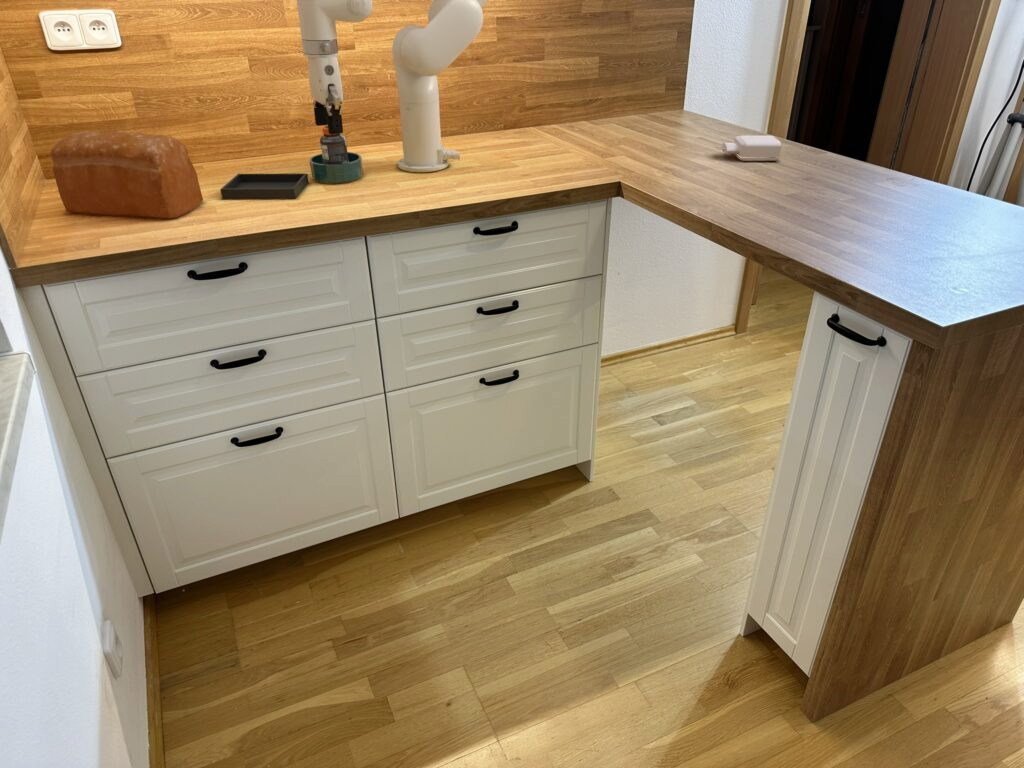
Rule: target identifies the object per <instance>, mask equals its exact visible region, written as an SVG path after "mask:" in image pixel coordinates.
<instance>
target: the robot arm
mask: <svg viewBox="0 0 1024 768" xmlns="http://www.w3.org/2000/svg"><path fill="white" fill-rule="evenodd" d="M488 2H489V0H432V2H431V3H430V5H429V7H428V11H427V20H428V23H427V24H426V25H425V27H423V26H420V25H416V24H415V25H414V24H413V25H412V24H411V25H407V26H404V27H402V28H401V29H399V30H398V32H397V33H396V34H395V36H394V38H393V41H392V47H391V51H392V52H391V53H392V61H393V65H394V70H395V75H396V76H395V77H396V82H397V83H396V84H397V92H398V106H399V117H400V128H401V131H400V132H401V143H402V153H403V154H402V155H403V157H402V158H400V159H399V160H398V161H397V167H398V169H400V170H401V171H405V172H411V173H430V172H431V173H432V172H437V171H441V170H444V169H446V168H447V167H448V166H449V160H454V161H455V160H458V161H459V160H460V158H461V153H460V150H459V151H458V150H455V149H450V150H448V149H446V148H445V146H444V145H445V144H442V132H441V114H440V94H439V93H440V92H439V82H438V77H437V75H440V74H442V73H443V72H444V71H446V69H448V68H449V66H451V65H452V63H454V61H455V60H457V59H458V58H459V56H460V55H462V53H463V52H465V50H466V49H467V48H469V46H470V45H471V44H472V43H473V42H474V41H475V39H476V38H477V37H478V35H479V34H480V32H481V30H482V27H483V25H484V13H483V8H484V7H485V5H486V4H487V3H488ZM296 5H297V11H298V21H299V30H300V37H301V47H302V54H303V57H306V58H307V71H308V83H309V90H310V95H311V98H312V100H313V101H312V106H313V114H314V121H315V122H314V123H315V125H316V126H317V127H319V126H328V131H329V134H339V133H341V134H343V133H344V126H343V118H342V117H343V116H342V114H343V113H342V104H344V102H345V99H344V92H343V91H344V90H343V83H342V77H341V70H340V65H339V60H338V56H339V55H340V54H339V46H338V36H337V27H336V22H345V23H353V24H355V23H357V24H358V23H362V22H364V21H365V20H367V19H368V18H369V17H370V15H371V13H372V11H373V0H296Z"/></svg>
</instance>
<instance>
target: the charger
mask: <svg viewBox="0 0 1024 768" xmlns="http://www.w3.org/2000/svg"><path fill="white" fill-rule="evenodd" d="M714 148H716V150H722V153H725V154H724V155H735V157H736V158H737V159H738V160H740V161H742V162H778V161H779V160H780V155H781V150H782V142H781V141H780V140H779V139H778V138H777V137H775V136H774V135H736V136H735V137H734V139H733V142H723V143H722V144H721V145H715V146H714ZM737 154H738V155H739V156H741V157H779V158H740V157H739V156H738V155H737Z"/></svg>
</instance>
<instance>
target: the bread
mask: <svg viewBox="0 0 1024 768" xmlns="http://www.w3.org/2000/svg"><path fill="white" fill-rule="evenodd" d="M49 155H50V157H51V160H52V163H53V166H52V172H53V176H54V180H55V182H56V186H57V190H58V194H59V197H60V199H61V202H62V204H63V207H64V209H65V211H66V212H67V213H72V214H85V215H100V216H101V215H102V216H116V217H117V216H119V217H137V218H149V219H175V218H177V217H180V216H182V215H184V214H187V213H189V212H191V211H192V210H194V209H196V208H198V206H199V205H200V204H201V203H202V202H203V201H204V198H203V195H202V190H201V187H200V182H199V178H198V174H197V171H196V169H195V167H194V165H193V162H192V160H191V158H190V155H189V152H188V148H187V146H186V145H184V144H183V143H182V142H181V140H179V139H178V138H175V137H174V136H171V135H167V134H154V133H153V134H149V133H144V132H143V133H142V132H135V131H128V130H107V131H106V130H105V131H94V130H86V131H75V132H72V133H70V134H67V135H66V136H65V137H63V138H61V139H60V140H59V141H57V142H55V143H54V144H53V146H52V149H51V150H50V153H49Z"/></svg>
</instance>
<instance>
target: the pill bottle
mask: <svg viewBox="0 0 1024 768" xmlns="http://www.w3.org/2000/svg"><path fill="white" fill-rule="evenodd" d="M322 134H323V135H322V136H321V137H320V139H319V143H320V151H321V154H322V158H323V164H325V165H336V164H344V163H349V160H348V153H347V152H348V147H347V139H346V136H345V135H343V134H342V133H339V134H329V131H328V125H324V126H322Z"/></svg>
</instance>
